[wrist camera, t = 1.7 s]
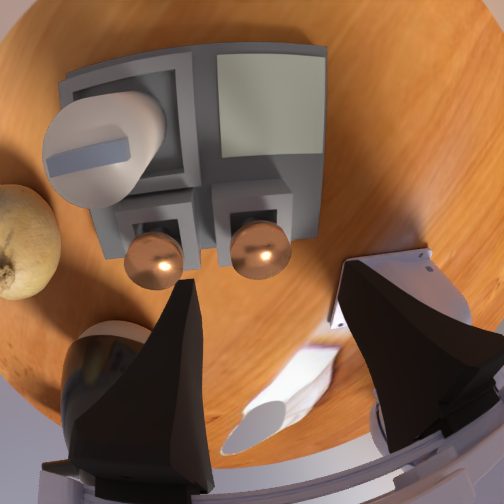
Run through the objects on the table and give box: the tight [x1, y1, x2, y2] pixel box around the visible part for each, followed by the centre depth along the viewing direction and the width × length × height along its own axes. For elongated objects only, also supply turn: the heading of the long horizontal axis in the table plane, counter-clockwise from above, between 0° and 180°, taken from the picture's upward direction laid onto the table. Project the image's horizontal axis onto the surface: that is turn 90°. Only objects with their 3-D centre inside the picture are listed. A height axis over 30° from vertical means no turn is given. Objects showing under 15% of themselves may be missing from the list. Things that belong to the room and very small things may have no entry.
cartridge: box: [42, 91, 168, 209], centre depth 10 cm, size 4×4×6 cm
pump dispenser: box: [42, 320, 151, 487], centre depth 17 cm, size 10×10×15 cm
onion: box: [0, 184, 61, 300], centre depth 13 cm, size 8×8×7 cm
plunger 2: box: [229, 216, 291, 280], centre depth 14 cm, size 3×3×3 cm
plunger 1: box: [124, 226, 184, 290], centre depth 14 cm, size 3×3×3 cm
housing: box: [58, 42, 327, 271], centre depth 14 cm, size 14×12×4 cm
